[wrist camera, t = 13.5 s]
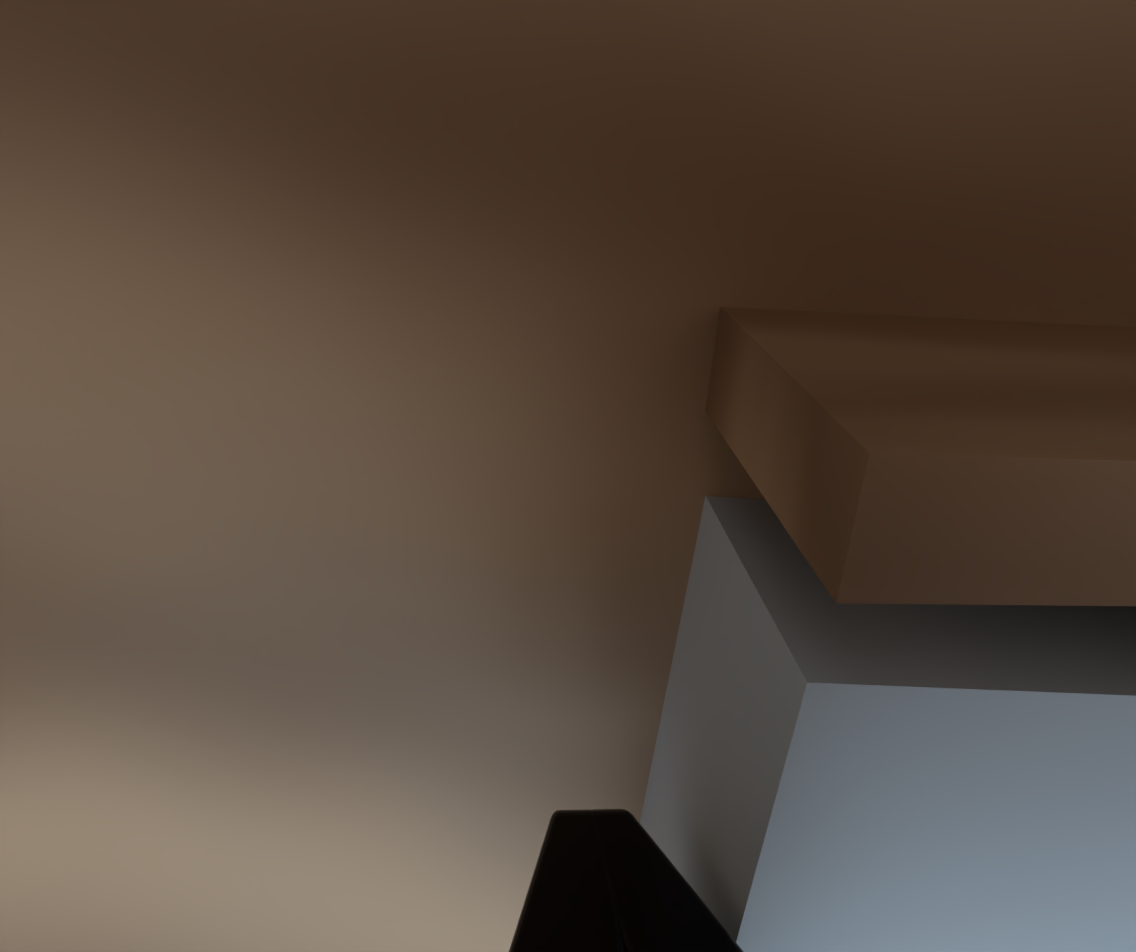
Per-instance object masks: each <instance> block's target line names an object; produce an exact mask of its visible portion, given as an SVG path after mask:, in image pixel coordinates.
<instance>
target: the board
mask: <svg viewBox="0 0 1136 952" xmlns="http://www.w3.org/2000/svg"><path fill="white" fill-rule="evenodd" d="M705 496H716V497H730V498H745V499H759V500H766V501H767V502H768V504H769V505H770V507H771V508H772V510H773V511H774V513H775V514H776V516H777V517H778V519H779V520H780V522H781V523H782V525H783V526H784V528H785V529H786V530H787V532H788V533H789V535H790V536H791V538H792V539H793V541H794V542H795V544H796V545H797V547H798V548H799V550H800V551H801V553H802V554H803V556H804V557H805V558H806V560H807V561H808V563H809V564H810V566H811V567H812V569H813V570H814V572H815V573H816V575H817V576H818V578H819V579H820V581H821V582H822V584H823V585H824V587H825V588H826V589H827V591H828V592H829V594H830V595H831V597H832V598H833V600H834V601H835V603H836V604H941V605H1048V606H1136V0H0V952H509V949H510V946H511V943H512V940H513V936H514V933H515V930H516V927H517V924H518V921H519V917H520V914H521V911H522V908H523V905H524V901H525V898H526V895H527V892H528V889H529V885H530V882H531V879H532V876H533V873H534V870H535V866H536V863H537V860H538V857H539V854H540V850H541V847H542V844H543V841H544V838H545V835H546V831H547V828H548V825H549V822H550V819H551V816H552V814H553V813H554V812H555V811H557V810H584V809H589V810H592V809H625V810H627V811H629V812H630V813H632V814H633V816H634V817H635V818H636V819H637V821H638V822H639V823H640V820H641V815H642V810H643V805H644V800H645V795H646V790H647V785H648V780H649V775H650V770H651V765H652V760H653V755H654V750H655V745H656V740H657V735H658V730H659V725H660V720H661V715H662V710H663V705H664V700H665V695H666V690H667V685H668V680H669V675H670V670H671V665H672V660H673V655H674V650H675V645H676V640H677V635H678V630H679V625H680V620H681V615H682V610H683V605H684V600H685V595H686V590H687V585H688V580H689V575H690V570H691V565H692V560H693V555H694V550H695V545H696V540H697V535H698V530H699V525H700V520H701V515H702V510H703V505H704V500H705Z"/></svg>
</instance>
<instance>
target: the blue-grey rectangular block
mask: <svg viewBox="0 0 1136 952" xmlns="http://www.w3.org/2000/svg"><path fill="white" fill-rule="evenodd" d="M640 824H641V825H642V827H643V828H644V829H645V830H646V832H647V833H648V834H649V835H650V837H651V838H652V839H653V840H654V842H655V843H656V844H657V845H658V846H659V848H660V849H661V850H662V851H663V853H664V854H665V855H666V856H667V858H668V859H669V860H670V861H671V863H672V864H673V865H674V866H675V868H676V869H677V870H678V871H679V872H680V874H681V875H682V876H683V877H684V879H685V880H686V881H687V882H688V884H689V885H690V886H691V887H692V889H693V890H694V891H695V892H696V893H697V895H698V896H699V897H700V898H701V900H702V901H703V902H704V903H705V905H706V906H707V907H708V908H709V910H710V911H711V912H712V913H713V915H714V916H715V917H716V918H717V919H718V921H719V922H720V923H721V924H722V926H723V927H724V928H725V929H726V931H727V932H728V933H729V934H730V936H731V937H732V938H733V939H734V940H735V942H736V943H737V944H738V945H739V947H740V948H741V949H742V950H743V952H1136V606H1048V605H941V604H836V603H835V601H834V600H833V598H832V597H831V595H830V594H829V592H828V591H827V589H826V588H825V587H824V585H823V584H822V582H821V581H820V579H819V578H818V576H817V575H816V573H815V572H814V570H813V569H812V567H811V566H810V564H809V563H808V561H807V560H806V558H805V557H804V556H803V554H802V553H801V551H800V550H799V548H798V547H797V545H796V544H795V542H794V541H793V539H792V538H791V536H790V535H789V533H788V532H787V530H786V529H785V528H784V526H783V525H782V523H781V522H780V520H779V519H778V517H777V516H776V514H775V513H774V511H773V510H772V508H771V507H770V505H769V504H768V502H767V501H766V500H759V499H745V498H730V497H716V496H705V500H704V505H703V510H702V515H701V520H700V525H699V530H698V535H697V540H696V545H695V550H694V555H693V560H692V565H691V570H690V575H689V580H688V585H687V590H686V595H685V600H684V605H683V610H682V615H681V620H680V625H679V630H678V635H677V640H676V645H675V650H674V655H673V660H672V665H671V670H670V675H669V680H668V685H667V690H666V695H665V700H664V705H663V710H662V715H661V720H660V725H659V730H658V735H657V740H656V745H655V750H654V755H653V760H652V765H651V770H650V775H649V780H648V785H647V790H646V795H645V800H644V805H643V810H642V815H641V820H640Z"/></svg>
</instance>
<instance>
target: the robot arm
mask: <svg viewBox="0 0 1136 952" xmlns="http://www.w3.org/2000/svg"><path fill="white" fill-rule="evenodd" d="M509 952H743V950H742V949H741V948H740V947H739V945H738V944H737V943H736V942H735V940H734V939H733V938H732V937H731V936H730V934H729V933H728V932H727V931H726V929H725V928H724V927H723V926H722V924H721V923H720V922H719V921H718V919H717V918H716V917H715V916H714V915H713V913H712V912H711V911H710V910H709V908H708V907H707V906H706V905H705V903H704V902H703V901H702V900H701V898H700V897H699V896H698V895H697V893H696V892H695V891H694V890H693V889H692V887H691V886H690V885H689V884H688V882H687V881H686V880H685V879H684V877H683V876H682V875H681V874H680V872H679V871H678V870H677V869H676V868H675V866H674V865H673V864H672V863H671V861H670V860H669V859H668V858H667V856H666V855H665V854H664V853H663V851H662V850H661V849H660V848H659V846H658V845H657V844H656V843H655V842H654V840H653V839H652V838H651V837H650V835H649V834H648V833H647V832H646V830H645V829H644V828H643V827H642V825H641V824H640V823H639V822H638V821H637V819H636V818H635V817H634V816H633V814H632V813H630V812H629V811H627V810H625V809H592V810H589V809H584V810H557V811H555V812H554V813H553V814H552V816H551V819H550V822H549V825H548V828H547V831H546V835H545V838H544V841H543V844H542V847H541V850H540V854H539V857H538V860H537V863H536V866H535V870H534V873H533V876H532V879H531V882H530V885H529V889H528V892H527V895H526V898H525V901H524V905H523V908H522V911H521V914H520V917H519V921H518V924H517V927H516V930H515V933H514V936H513V940H512V943H511V946H510V949H509Z"/></svg>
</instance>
